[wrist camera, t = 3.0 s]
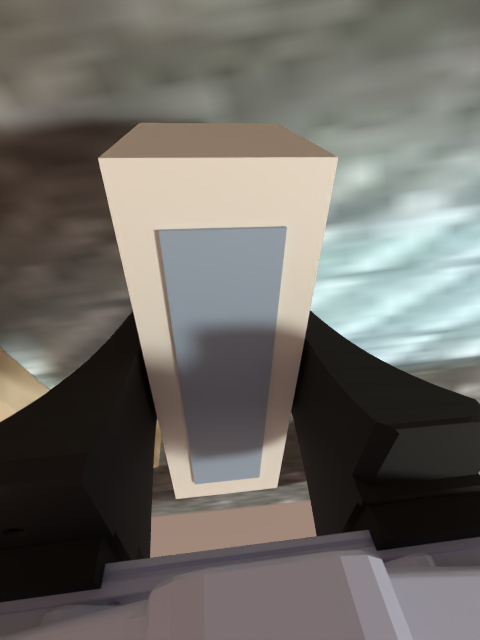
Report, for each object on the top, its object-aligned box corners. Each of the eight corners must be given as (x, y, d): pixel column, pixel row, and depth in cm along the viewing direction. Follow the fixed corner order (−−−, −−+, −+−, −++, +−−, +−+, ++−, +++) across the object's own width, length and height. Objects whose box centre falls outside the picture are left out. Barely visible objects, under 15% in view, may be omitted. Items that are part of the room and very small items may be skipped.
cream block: (257, 390, 17) (277, 490, 13) (180, 396, 16) (176, 501, 12) (278, 123, 9) (340, 158, 5) (139, 123, 9) (96, 159, 5)
